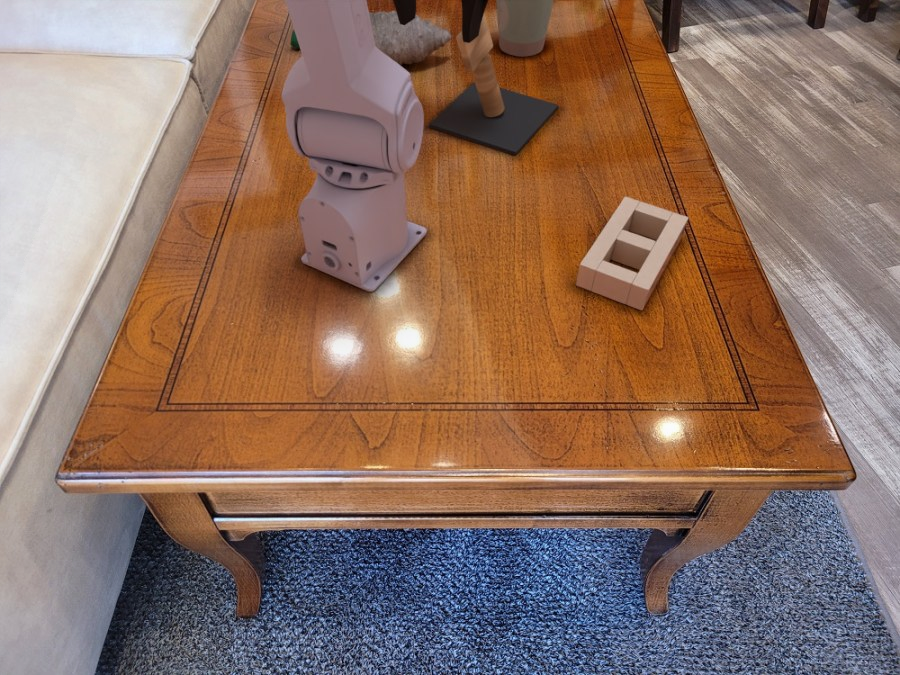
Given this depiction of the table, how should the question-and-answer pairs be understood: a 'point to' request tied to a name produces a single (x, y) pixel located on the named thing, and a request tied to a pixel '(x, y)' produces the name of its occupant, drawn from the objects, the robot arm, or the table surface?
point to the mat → (495, 120)
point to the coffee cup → (523, 25)
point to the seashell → (406, 37)
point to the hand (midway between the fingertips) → (438, 29)
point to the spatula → (482, 69)
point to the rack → (631, 252)
